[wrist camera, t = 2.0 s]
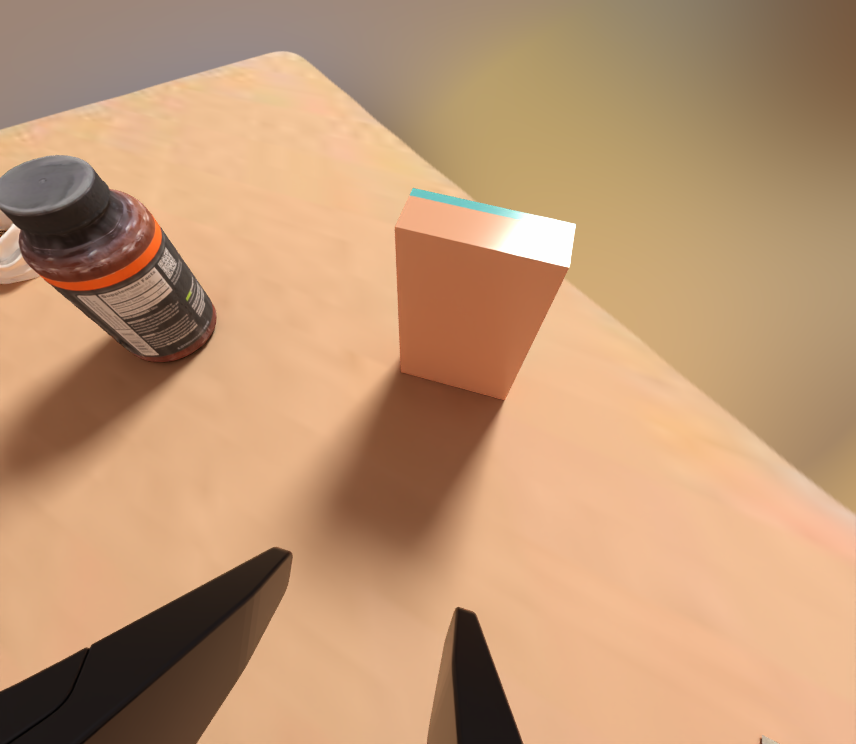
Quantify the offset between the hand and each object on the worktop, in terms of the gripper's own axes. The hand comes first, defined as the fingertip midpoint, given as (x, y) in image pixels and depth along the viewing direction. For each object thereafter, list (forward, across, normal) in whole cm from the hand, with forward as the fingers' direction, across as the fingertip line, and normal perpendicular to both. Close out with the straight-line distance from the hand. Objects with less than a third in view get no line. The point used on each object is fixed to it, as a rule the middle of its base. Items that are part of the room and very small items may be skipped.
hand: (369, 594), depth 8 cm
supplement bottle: (+18, +19, +2) cm, 26 cm away
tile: (+19, 0, 0) cm, 19 cm away
